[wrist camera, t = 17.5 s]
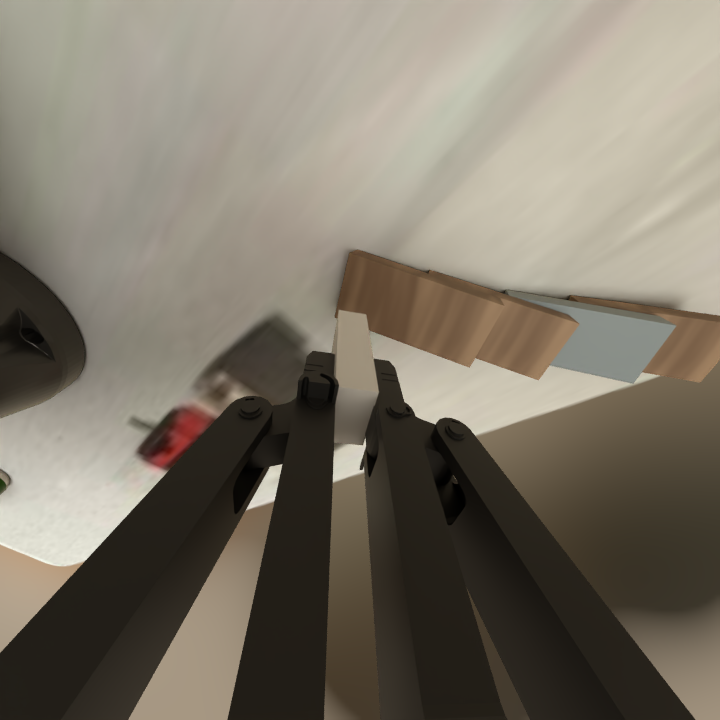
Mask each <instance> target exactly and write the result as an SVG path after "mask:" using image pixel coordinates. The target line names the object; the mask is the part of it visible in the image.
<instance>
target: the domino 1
mask: <svg viewBox="0 0 720 720" xmlns="http://www.w3.org/2000/svg"><path fill="white" fill-rule="evenodd" d="M504 307H505V306H504V304H503V302H502V301H501V299H500V298H498V297H495V296H492V295H489V294H486V293H484V292H481V291H478V290H475V289H472V288H469V287H466V286H463V285H460V284H457V283H454V282H451V281H448V280H445V279H442V278H439V277H437V276H434V275H431V274H428V273H425V272H422V271H419V270H416V269H413V268H410V267H407V266H404V265H401V264H398V263H395V262H392V261H389V260H387V259H384V258H381V257H378V256H375V255H372V254H369V253H366V252H363V251H360V250H355V251H353V252H350V253H349V257H348V261H347V266H346V270H345V274H344V278H343V283H342V287H341V291H340V296H339V300H338V304H337V308H336V313H335V318H338V312H339V310H343V311H349V312H355V313H361V314H366V316H367V322H368V328H369V330H370V331H373V332H375V333H378V334H381V335H383V336H386V337H389V338H392V339H394V340H397V341H400V342H402V343H405V344H408V345H410V346H413V347H416V348H418V349H421V350H424V351H427V352H429V353H432V354H435V355H437V356H440V357H443V358H445V359H448V360H451V361H453V362H456V363H459V364H462V365H464V366H467V367H470V366H471V364H472V362H473V361H474V359H475V357H476V356H477V354H478V352H479V350H480V349H481V347H482V345H483V343H484V342H485V340H486V338H487V336H488V335H489V333H490V331H491V329H492V328H493V326H494V324H495V322H496V321H497V319H498V317H499V316H500V314H501V312H502V310H503V309H504Z"/></svg>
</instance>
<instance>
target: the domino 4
mask: <svg viewBox="0 0 720 720" xmlns="http://www.w3.org/2000/svg"><path fill="white" fill-rule="evenodd" d="M568 300H569V301H575V302H580V303H586V304H592V305H598V306H604V307H609V308H615V309H621V310H627V311H632V312H638V313H644V314H650V315H656V316H660V317H662V318H664V319H665V320H667V321H669V322H671V323H673V324H674V325H676V327H675V329H674V330H673V331H672V333H671V334H670V335H669V337H668V338H667V339H666V341H665V342H664V343H663V345H662V346H661V347H660V349H659V350H658V351H657V353H656V354H655V355H654V357H653V358H652V359H651V361H650V362H649V363H648V365H647V366H646V367H645V369H644V370H643V371H642V372H644V373H650V374H655V375H661V376H667V377H672V378H679V379H684V380H689V381H695V382H701V381H702V380H703V378H704V377H705V376H706V375H707V374H708V373H709V372H710V371H711V369H712V368H713V367H714V366H715V365H716V364H717V362H718V361H719V360H720V316H717V315H710V314H703V313H696V312H688V311H681V310H674V309H667V308H659V307H652V306H645V305H638V304H630V303H623V302H616V301H608V300H601V299H594V298H587V297H579V296H572V295H570V297H569V299H568Z"/></svg>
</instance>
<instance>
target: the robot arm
mask: <svg viewBox="0 0 720 720" xmlns="http://www.w3.org/2000/svg"><path fill="white" fill-rule="evenodd" d="M84 359H85V352H84V346H83V342H82V339H81V336H80V333H79V331H78V329H77V327H76V325H75V323H74V321H73V320H72V318H71V317H70V315H69V314H68V312H67V311H66V310H65V308H64V307H63V306H62V304H61V303H60V302H59V301H58V300H57V298H56V297H55V296H54V295H53V294H52V293H51V292H50V291H49V290H48V289H47V288H46V287H45V286H44V285H43V284H42V283H40V282H39V281H38V280H37V279H36V278H35V277H34V276H32V275H31V274H30V273H29V272H27V271H26V270H25V269H23V268H22V267H21V266H19V265H18V264H17V263H15V262H14V261H12V260H11V259H9V258H8V257H6V256H5V255H3V254H1V253H0V418H3V417H5V416H8V415H11V414H13V413H16V412H19V411H21V410H24V409H27V408H30V407H32V406H35V405H38V404H40V403H42V402H44V401H46V400H48V399H50V398H52V397H53V396H55V395H56V394H57V393H59V392H60V391H62V390H63V389H64V388H66V387H67V386H68V385H70V384H71V383H72V382H73V381H75V380H76V379H77V377H78V376H79V375H80V373H81V371H82V368H83V365H84ZM365 436H366V449H365V452H364V455H363V458H362V461H361V465H360V470H363V467H364V471H365V486H366V501H367V517H368V533H369V546H370V547H369V548H370V563H371V577H372V594H373V609H374V624H375V639H376V655H377V670H378V685H379V701H380V716H381V720H507V718H506V717H505V714H504V711H503V708H502V705H501V703H500V699H499V696H498V693H497V689H496V686H495V683H494V680H493V676H492V672H491V670H490V666H489V662H488V659H487V656H486V652H485V649H484V646H483V643H482V639H481V635H480V632H479V629H478V626H477V622H476V619H475V615H474V612H473V609H472V605H471V602H470V598H469V595H468V592H467V589H468V591H469V593H470V595H471V597H472V599H473V602H474V604H475V606H476V608H477V610H478V612H479V614H480V616H481V618H482V620H483V622H484V624H485V627H486V629H487V630H488V633H489V635H490V637H491V639H492V641H493V643H494V645H495V647H496V649H497V651H498V654H499V656H500V658H501V660H502V662H503V664H504V666H505V668H506V670H507V672H508V674H509V676H510V679H511V681H512V683H513V685H514V687H515V689H516V691H517V693H518V695H519V697H520V699H521V702H522V703H523V706H524V708H525V710H526V712H527V714H528V716H529V718H530V720H695V719H694V717H693V716H692V715H691V713H690V712H689V711H688V710H687V708H686V707H685V706H684V704H683V703H682V702H681V701H680V699H679V698H678V697H677V695H676V694H675V693H674V692H673V690H672V689H671V688H670V686H669V685H668V684H667V683H666V681H665V680H664V679H663V678H662V676H661V675H660V674H659V672H658V671H657V670H656V668H655V667H654V666H653V664H652V663H651V662H650V661H649V659H648V658H647V657H646V655H645V654H644V653H643V652H642V650H641V649H640V648H639V646H638V645H637V644H636V643H635V641H634V640H633V639H632V637H631V636H630V635H629V634H628V632H627V631H626V630H625V628H624V627H623V626H622V625H621V623H620V622H619V621H618V619H617V618H616V617H615V616H614V614H613V613H612V612H611V610H610V609H609V608H608V607H607V605H606V604H605V603H604V602H603V600H602V599H601V597H600V596H599V595H598V594H597V592H596V591H595V590H594V589H593V587H592V586H591V585H590V583H589V582H588V581H587V579H586V578H585V577H584V576H583V574H582V573H581V572H580V570H579V569H578V568H577V567H576V565H575V564H574V563H573V561H572V560H571V559H570V558H569V556H568V555H567V554H566V552H565V551H564V550H563V549H562V547H561V546H560V545H559V543H558V542H557V541H556V540H555V538H554V537H553V536H552V534H551V533H550V532H549V531H548V529H547V528H546V527H545V525H544V524H543V523H542V522H541V520H540V519H539V518H538V517H537V515H536V514H535V513H534V511H533V510H532V509H531V507H530V506H529V505H528V503H527V502H526V501H525V500H524V498H523V497H522V496H521V495H520V493H519V492H518V491H517V489H516V488H515V487H514V485H513V484H512V483H511V482H510V480H509V479H508V478H507V476H506V475H505V474H504V473H503V471H502V470H501V469H500V467H499V466H498V465H497V464H496V462H495V461H494V460H493V458H492V457H491V456H490V454H489V453H488V452H487V451H486V449H485V448H484V447H483V446H482V444H481V443H480V442H479V440H478V439H477V438H476V436H475V435H474V434H473V433H472V431H471V430H470V429H469V428H468V427H467V426H466V425H465V424H463V423H462V422H460V421H458V420H455V419H452V418H442V419H440V420H439V421H438V422H437V423H436V425H435V424H432V423H429V422H427V421H424V420H422V419H419V418H417V417H416V416H415V413H414V411H413V410H412V408H411V407H410V406H409V405H408V404H407V403H405V402H404V399H403V396H402V392H401V388H400V385H399V382H398V377H397V373H396V370H395V367H394V366H393V365H392V364H391V363H390V362H389V361H386V360H379V359H373V353H372V347H371V341H370V334H369V328H368V322H367V316H366V314H361V313H355V312H349V311H343V310H339V312H338V318H337V324H336V330H335V336H334V342H333V347H332V353H325V352H318V351H312V352H311V353H310V354H309V355H308V356H307V360H306V365H305V369H304V374H303V375H301V377H300V378H299V381H298V391H297V397H296V398H295V399H294V400H293V401H291V402H289V403H286V404H281V405H274V406H272V405H271V404H270V402H269V401H268V400H266V399H264V398H262V397H257V396H247V397H242V398H240V399H237V400H235V401H234V402H233V403H231V404H230V405H229V406H228V407H227V408H226V410H225V411H224V412H223V413H222V414H221V415H220V416H219V417H218V418H217V419H216V420H215V421H214V422H213V424H212V425H211V426H210V427H209V428H208V429H207V430H206V431H205V432H204V433H203V434H202V435H201V437H200V438H199V439H198V440H197V441H196V442H195V443H194V444H193V445H192V446H191V447H190V448H189V450H188V451H187V452H186V453H185V454H184V455H183V456H182V457H181V458H180V459H179V460H178V461H177V462H176V464H175V465H174V466H173V467H172V468H171V469H170V470H169V471H168V472H167V473H166V474H165V475H164V477H163V478H162V479H161V480H160V481H159V482H158V483H157V484H156V485H155V486H154V487H153V488H152V489H151V491H150V492H149V493H148V494H147V495H146V496H145V497H144V498H143V499H142V500H141V501H140V502H139V504H138V505H137V506H136V507H135V508H134V509H133V510H132V511H131V512H130V513H129V514H128V515H127V517H126V518H125V519H124V520H123V521H122V522H121V523H120V524H119V525H118V526H117V527H116V528H115V529H114V531H113V532H112V533H111V534H110V535H109V536H108V537H107V538H106V539H105V540H104V541H103V542H102V544H101V545H100V546H99V547H98V548H97V549H96V550H95V551H94V552H93V553H92V554H91V555H90V557H89V558H88V559H87V560H86V561H85V562H84V563H83V564H82V565H81V566H80V567H79V568H78V569H77V571H76V572H75V573H74V574H73V575H72V576H71V577H70V578H69V579H68V580H67V581H66V583H65V584H64V585H63V586H62V587H61V588H60V589H59V590H58V591H57V592H56V593H55V594H54V595H53V596H52V598H51V599H50V600H49V601H48V602H47V603H46V604H45V605H44V606H43V607H42V608H41V609H40V611H39V612H38V613H37V614H36V615H35V616H34V617H33V618H32V619H31V620H30V621H29V622H28V624H27V625H26V626H25V627H24V628H23V629H22V630H21V631H20V632H19V633H18V634H17V635H16V637H15V638H14V639H13V640H12V641H11V642H10V643H9V644H8V645H7V646H6V647H5V648H4V650H3V651H2V652H1V653H0V720H128V719H129V717H130V715H131V713H132V712H133V710H134V708H135V706H136V704H137V702H138V701H139V699H140V697H141V696H142V694H143V692H144V690H145V689H146V687H147V685H148V683H149V681H150V680H151V678H152V676H153V674H154V672H155V671H156V669H157V667H158V665H159V664H160V662H161V660H162V658H163V656H164V655H165V653H166V651H167V649H168V648H169V646H170V644H171V642H172V640H173V639H174V637H175V635H176V633H177V631H178V630H179V628H180V626H181V624H182V623H183V621H184V619H185V617H186V615H187V614H188V612H189V610H190V608H191V607H192V605H193V603H194V601H195V599H196V598H197V596H198V594H199V592H200V591H201V589H202V587H203V585H204V583H205V582H206V580H207V578H208V576H209V574H210V573H211V571H212V569H213V567H214V566H215V564H216V562H217V560H218V558H219V557H220V555H221V553H222V551H223V550H224V548H225V546H226V544H227V542H228V541H229V539H230V537H231V535H232V534H233V532H234V530H235V528H236V526H237V525H238V523H239V521H240V519H241V517H242V516H243V514H244V512H245V510H246V509H247V507H248V505H249V503H250V501H251V500H252V498H253V496H254V494H255V493H256V491H257V489H258V487H259V485H260V484H261V482H262V480H263V478H264V477H265V475H266V473H267V471H268V469H269V467H270V466H275V465H280V464H283V465H282V470H281V474H280V479H279V483H278V488H277V493H276V497H275V502H274V507H273V511H272V516H271V521H270V525H269V530H268V535H267V539H266V544H265V549H264V553H263V558H262V562H261V567H260V572H259V577H258V581H257V585H256V590H255V595H254V599H253V604H252V609H251V613H250V618H249V623H248V627H247V632H246V636H245V641H244V646H243V651H242V655H241V660H240V664H239V669H238V674H237V678H236V683H235V688H234V692H233V697H232V701H231V706H230V711H229V715H228V720H324V697H325V670H326V642H327V616H328V590H329V563H330V536H331V509H332V483H333V456H334V443H345V444H355V445H363V443H364V440H365ZM453 475H454V476H453ZM454 477H455V478H456V479H455V478H454ZM456 480H457V481H456ZM466 587H467V588H466Z"/></svg>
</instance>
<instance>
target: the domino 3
mask: <svg viewBox="0 0 720 720" xmlns="http://www.w3.org/2000/svg"><path fill="white" fill-rule="evenodd" d="M504 294H506V295H509V296H512V297H515V298H519V299H522V300H525V301H528V302H531V303H534V304H537V305H540V306H543V307H546V308H549V309H553V310H556V311H559V312H562V313H565V314H568V315H570V316H571V317H572V318H573V319H575V320H576V321H577V322H578V323H579V324H580V325H579V326H578V327H577V329H576V330H575V331H574V333H573V334H572V335H571V337H570V338H569V339H568V341H567V342H566V344H565V345H564V346H563V348H562V349H561V350H560V352H559V353H558V354H557V356H556V357H555V358H554V360H553V361H552V362H551V364H550V365H551V366H555V367H560V368H564V369H569V370H573V371H578V372H582V373H587V374H592V375H596V376H601V377H605V378H610V379H614V380H619V381H623V382H628V383H634V382H635V381H636V379H637V378H638V377H639V375H640V374H641V373H642V371H643V370H644V369H645V367H646V366H647V365H648V363H649V362H650V361H651V359H652V358H653V357H654V355H655V354H656V353H657V351H658V350H659V349H660V347H661V346H662V345H663V343H664V342H665V341H666V339H667V338H668V337H669V335H670V334H671V333H672V331H673V330H674V329H675V327H676V325H674V324H673V323H671V322H669V321H667V320H665V319H664V318H662V317H660V316H656V315H650V314H644V313H638V312H632V311H627V310H621V309H615V308H609V307H604V306H598V305H592V304H586V303H580V302H575V301H569V300H563V299H557V298H552V297H546V296H540V295H534V294H528V293H523V292H517V291H511V290H506V291H505V293H504Z"/></svg>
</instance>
